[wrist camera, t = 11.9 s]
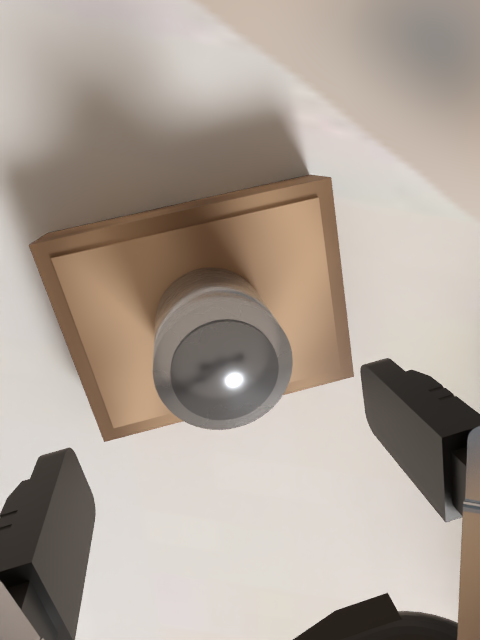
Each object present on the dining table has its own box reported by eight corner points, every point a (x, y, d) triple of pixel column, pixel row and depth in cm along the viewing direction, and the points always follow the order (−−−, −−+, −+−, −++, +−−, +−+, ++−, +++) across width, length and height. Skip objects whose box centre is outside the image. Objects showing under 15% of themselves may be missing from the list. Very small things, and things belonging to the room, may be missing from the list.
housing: (141, 282, 19) (134, 326, 14) (252, 255, 19) (283, 289, 15) (171, 381, 21) (173, 449, 16) (271, 354, 21) (304, 414, 16)
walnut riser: (111, 409, 24) (103, 443, 22) (47, 233, 21) (27, 245, 18) (333, 352, 25) (355, 377, 23) (310, 174, 22) (332, 177, 19)
